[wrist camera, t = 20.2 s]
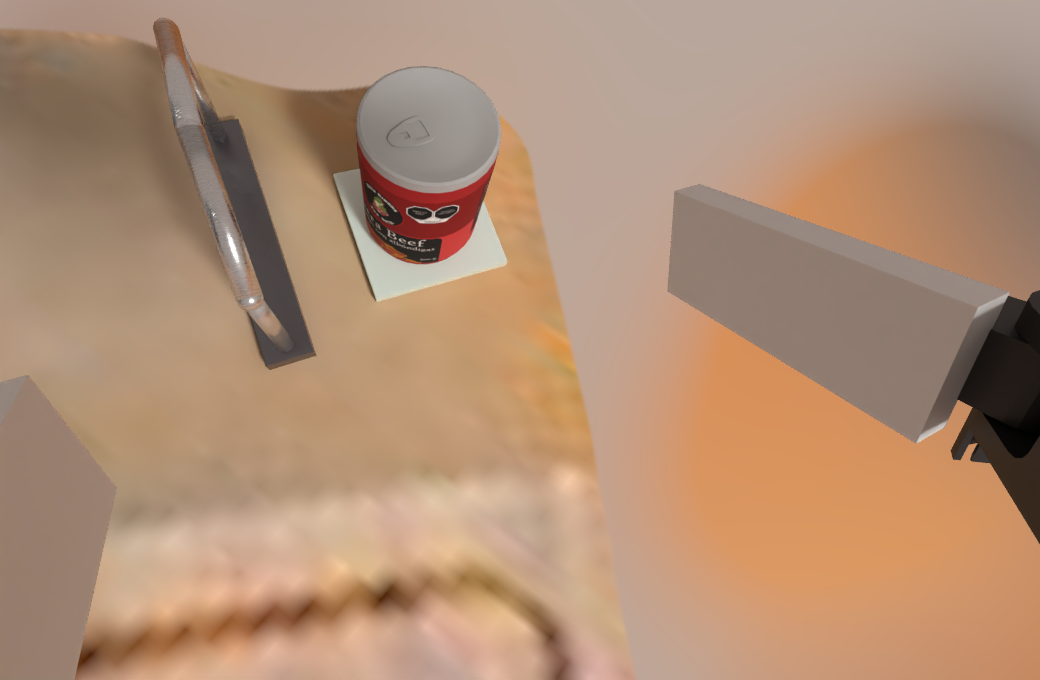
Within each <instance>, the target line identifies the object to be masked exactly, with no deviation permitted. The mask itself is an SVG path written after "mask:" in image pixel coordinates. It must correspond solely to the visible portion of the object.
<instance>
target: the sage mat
mask: <svg viewBox="0 0 1040 680" xmlns="http://www.w3.org/2000/svg"><path fill="white" fill-rule="evenodd" d="M333 177H334V181H335V184H336V187H337V190H338V192H339V195H340V198H341V201H342V204H343V207H344V210H345V213H346V216H347V218H348V221H349V224H350V227H351V230H352V233H353V236H354V239H355V242H356V244H357V247H358V250H359V253H360V256H361V259H362V262H363V265H364V267H365V270H366V273H367V276H368V279H369V282H370V285H371V288H372V291H373V293H374V296H375V299H376V302H378V301H382V300H385V299H389V298H392V297H396V296H399V295H403V294H407V293H410V292H414V291H417V290H421V289H424V288H428V287H431V286H435V285H438V284H442V283H445V282H449V281H452V280H456V279H460V278H463V277H467V276H470V275H474V274H477V273H481V272H484V271H488V270H491V269H495V268H498V267H502V266H505V265H506V263H507V259H506V256H505V254H504V251H503V249H502V246H501V244H500V241H499V239H498V236H497V234H496V231H495V229H494V226H493V224H492V221H491V219H490V216H489V214H488V211H487V209H486V206H485V204H484V201H483V203H482V206H481V209H480V212H479V215H478V219H477V222H476V225H475V228H474V230H473V233H472V235H471V237H470V239H469V240H468V242H467V243H466V244H465V246H464V247H462V248H461V249H460V250H459V251H458V252H457V253H455V254H454V255H452V256H450V257H449V258H447V259H445V260H442V261H440V262H437V263H432V264H412V263H407V262H404V261H401V260H399V259H396V258H395V257H393V256H391V255H390V254H388V253H387V252H386V251H385V250H383V249H382V248H381V247H380V246H379V245H378V244H377V242H376V241H375V240H374V238H373V237H372V236H371V233H370V231H369V229H368V227H367V222H366V218H365V209H364V201H363V192H362V183H361V175H360V168H359V169H354V170H349V171H344V172H339V173H335V174H333Z"/></svg>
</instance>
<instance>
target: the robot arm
mask: <svg viewBox="0 0 1040 680" xmlns="http://www.w3.org/2000/svg"><path fill="white" fill-rule="evenodd" d="M668 292H670V293H671V294H673V295H675V296H676V297H678V298H680V299H681V300H683V301H684V302H686V303H688V304H689V305H691V306H693V307H694V308H696V309H697V310H699V311H701V312H703V313H704V314H706V315H707V316H709V317H710V318H712V319H714V320H715V321H717V322H719V323H720V324H722V325H723V326H725V327H727V328H728V329H730V330H732V331H733V332H735V333H737V334H738V335H740V336H741V337H743V338H745V339H746V340H748V341H750V342H751V343H753V344H755V345H756V346H758V347H759V348H761V349H763V350H764V351H766V352H768V353H769V354H771V355H772V356H774V357H776V358H777V359H779V360H781V361H782V362H784V363H785V364H787V365H789V366H790V367H792V368H794V369H795V370H797V371H798V372H800V373H802V374H803V375H805V376H807V377H808V378H810V379H812V380H813V381H815V382H817V383H818V384H820V385H821V386H823V387H825V388H826V389H828V390H829V391H831V392H833V393H834V394H836V395H838V396H839V397H841V398H843V399H844V400H846V401H847V402H849V403H851V404H852V405H854V406H856V407H857V408H859V409H861V410H862V411H864V412H865V413H867V414H869V415H870V416H872V417H874V418H875V419H877V420H878V421H880V422H882V423H883V424H885V425H887V426H888V427H890V428H891V429H893V430H895V431H896V432H898V433H900V434H901V435H903V436H904V437H906V438H908V439H910V440H911V441H913V442H914V443H918V442H920V441H921V440H923V439H925V438H927V437H928V436H930V435H932V434H933V433H935V432H937V431H939V430H941V429H942V428H944V427H945V425H946V423H947V421H948V419H949V417H950V414H951V413H952V410H953V408H954V406H955V404H956V402H957V400H960V401H962V402H964V403H965V404H967V405H970V406H971V407H973V408H972V410H971V412H970V414H969V416H968V418H967V420H966V422H965V424H964V426H963V428H962V430H961V432H960V433H959V435H958V437H957V439H956V441H955V443H954V445H953V447H952V449H951V453H952V457H953V459H954V460H961V458H962V456H963V454H964V452H965V450H966V448H967V447H968V445H969V444H974V443H978V444H977V446H976V447H975V449H974V451H973V453H972V456H971V459H970V460H971V461H973V462H974V461H975V462H983V463H991V465H992V467H993V468H994V470H995V472H996V473H997V475H998V476H999V478H1000V480H1001V481H1002V483H1003V485H1004V486H1005V488H1006V490H1007V491H1008V493H1009V495H1010V496H1011V498H1012V499H1013V501H1014V502H1015V504H1016V506H1017V508H1018V509H1019V511H1020V512H1021V514H1022V516H1023V517H1024V519H1025V521H1026V522H1027V524H1028V526H1029V527H1030V529H1031V530H1032V532H1033V534H1034V535H1035V537H1036V539H1037V540H1038V542H1039V543H1040V290H1039V291H1036V292H1034V293H1032V294H1031V295H1030V297H1029V299H1028V301H1027V302H1026V301H1023V300H1020V299H1016V298H1013V297H1010V296H1008V295H1009V292H1008V291H1005V290H1002V289H999V288H996V287H993V286H990V285H987V284H985V283H982V282H979V281H976V280H973V279H970V278H968V277H965V276H962V275H959V274H956V273H953V272H950V271H947V270H944V269H942V268H939V267H936V266H933V265H930V264H927V263H924V262H922V261H918V260H916V259H913V258H910V257H907V256H904V255H901V254H898V253H896V252H893V251H890V250H887V249H884V248H881V247H879V246H875V245H873V244H870V243H867V242H864V241H861V240H859V239H856V238H853V237H850V236H847V235H844V234H841V233H838V232H836V231H833V230H830V229H827V228H824V227H821V226H818V225H815V224H813V223H810V222H807V221H804V220H801V219H798V218H795V217H793V216H790V215H787V214H784V213H781V212H778V211H775V210H772V209H770V208H767V207H764V206H761V205H758V204H755V203H752V202H749V201H747V200H744V199H741V198H738V197H735V196H732V195H729V194H727V193H724V192H721V191H718V190H715V189H712V188H709V187H706V186H704V185H701V184H699V185H695V186H691V187H688V188H684V189H681V190H677V191H675V192H674V207H673V221H672V235H671V250H670V264H669V278H668ZM116 489H117V487H116V486H115V485H114V484H113V482H112V481H111V480H110V478H109V477H108V476H107V475H106V473H105V472H104V471H103V470H102V468H101V467H100V466H99V464H98V463H97V462H96V461H95V459H94V458H93V457H92V455H91V454H90V453H89V452H88V450H87V449H86V448H85V447H84V445H83V444H82V443H81V441H80V440H79V439H78V438H77V436H76V435H75V434H74V433H73V431H72V430H71V429H70V427H69V426H68V425H67V424H66V422H65V421H64V420H63V419H62V417H61V416H60V415H59V413H58V412H57V411H56V410H55V408H54V407H53V406H52V404H51V403H50V402H49V401H48V399H47V398H46V397H45V396H44V394H43V393H42V392H41V390H40V389H39V388H38V387H37V385H36V384H35V383H34V382H33V380H32V379H31V378H30V376H29V375H26V376H22V377H19V378H15V379H12V380H8V381H5V382H1V383H0V680H74V679H75V674H76V670H77V665H78V661H79V656H80V652H81V647H82V642H83V638H84V633H85V629H86V624H87V620H88V615H89V611H90V606H91V602H92V597H93V593H94V588H95V584H96V579H97V575H98V570H99V566H100V561H101V556H102V552H103V547H104V543H105V538H106V534H107V529H108V525H109V520H110V516H111V511H112V507H113V502H114V498H115V493H116Z"/></svg>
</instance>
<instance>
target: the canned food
mask: <svg viewBox="0 0 1040 680" xmlns="http://www.w3.org/2000/svg"><path fill="white" fill-rule="evenodd" d="M356 136H357V149H358V158H359V166H360V175H361V183H362V192H363V201H364V209H365V218H366V222H367V227H368V229H369V231H370V233H371V236H372V237H373V238H374V240H375V241H376V242H377V244H378V245H379V246H380V247H381V248H382V249H383V250H385V251H386V252H387V253H388V254H390V255H391V256H393V257H395V258H396V259H399V260H401V261H404V262H407V263H412V264H432V263H437V262H440V261H442V260H445V259H447V258H449V257H450V256H452V255H454V254H455V253H457V252H458V251H459V250H460V249H461V248H462V247H464V246H465V244H466V243H467V242H468V240H469V239H470V237H471V235H472V233H473V230H474V228H475V225H476V222H477V219H478V215H479V212H480V209H481V206H482V203H483V200H484V197H485V194H486V191H487V188H488V185H489V181H490V178H491V175H492V172H493V169H494V166H495V162H496V158H497V155H498V152H499V146H500V139H501V123H500V120H499V116H498V113H497V111H496V109H495V107H494V105H493V103H492V101H491V100H490V99H489V97H488V96H487V95H486V94H485V92H484V91H483V90H481V89H480V88H479V87H478V86H477V85H476V84H475V83H473V82H472V81H470V80H468V79H467V78H465V77H464V76H461V75H459V74H457V73H455V72H452V71H449V70H445V69H441V68H437V67H426V66H420V67H408V68H404V69H400V70H396V71H394V72H392V73H389V74H387V75H385V76H384V77H382V78H381V79H379V80H378V81H376V82H375V83H374V84H373V85H372V86H371V87H370V88H369V89H368V90H367V91H366V93H365V95H364V97H363V98H362V100H361V102H360V105H359V109H358V112H357V120H356Z"/></svg>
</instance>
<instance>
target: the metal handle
mask: <svg viewBox="0 0 1040 680" xmlns="http://www.w3.org/2000/svg"><path fill="white" fill-rule="evenodd" d="M153 29H154V34H155V38H156V43H157V48H158V52H159V57H160V62H161V66H162V71H163V76H164V80H165V85H166V89H167V94H168V99H169V103H170V108H171V112H172V117H173V122H174V126H175V131H176V134H177V136H178V139H179V142H180V145H181V148H182V150H183V153H184V156H185V159H186V162H187V164H188V167H189V170H190V173H191V175H192V178H193V181H194V184H195V187H196V189H197V192H198V195H199V198H200V201H201V203H202V206H203V209H204V212H205V215H206V217H207V220H208V223H209V226H210V229H211V231H212V234H213V237H214V240H215V243H216V245H217V248H218V251H219V254H220V256H221V259H222V262H223V265H224V268H225V270H226V273H227V276H228V279H229V282H230V284H231V287H232V290H233V293H234V296H235V298H236V301H237V303H238V305H239V306H240V307H241V308H242V309H244V310H246V311H247V312H248V314H249V315H250V316H251V319H252V323H253V326H254V329H255V332H256V336H257V339H258V342H259V345H260V349H261V352H262V355H263V358H264V362H265V365H266V367H267V368H268V369H269V370H271V369H274V368H278V367H281V366H284V365H287V364H291V363H294V362H297V361H300V360H303V359H307V358H310V357H313V356H316V353H315V350H314V347H313V344H312V341H311V338H310V335H309V332H308V329H307V326H306V323H305V319H304V316H303V313H302V310H301V307H300V304H299V301H298V298H297V295H296V292H295V289H294V286H293V283H292V280H291V277H290V274H289V271H288V268H287V264H286V261H285V258H284V255H283V252H282V249H281V246H280V243H279V240H278V237H277V234H276V231H275V228H274V225H273V222H272V219H271V216H270V213H269V209H268V206H267V203H266V200H265V197H264V194H263V191H262V188H261V185H260V182H259V179H258V176H257V173H256V170H255V167H254V164H253V161H252V158H251V155H250V151H249V148H248V145H247V142H246V139H245V136H244V133H243V130H242V127H241V125H240V123H239V120H238V119H236V120H230V121H224V122H221V121H220V118H219V116H218V114H217V112H216V110H215V108H214V106H213V104H212V102H211V100H210V98H209V95H208V93H207V91H206V89H205V87H204V85H203V83H202V81H201V79H200V77H199V75H198V72H197V70H196V68H195V66H194V64H193V62H192V60H191V58H190V56H189V54H188V52H187V49H186V47H185V45H184V43H183V41H182V39H181V35H180V31H179V29H178V26H177V25H176V24H175V23H174V22H173V21H171V20H170V19H167V18H159V19H157V20H156V21H155V22H154V26H153ZM202 120H203V122H204V124H205V125H203V122H202Z"/></svg>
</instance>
